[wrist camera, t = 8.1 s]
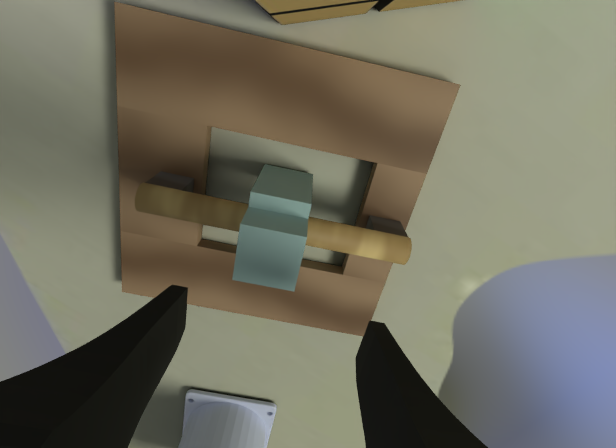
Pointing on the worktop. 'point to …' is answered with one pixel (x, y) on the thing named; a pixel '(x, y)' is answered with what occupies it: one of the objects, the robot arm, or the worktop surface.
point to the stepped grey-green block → (274, 229)
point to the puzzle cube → (332, 8)
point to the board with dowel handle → (271, 125)
